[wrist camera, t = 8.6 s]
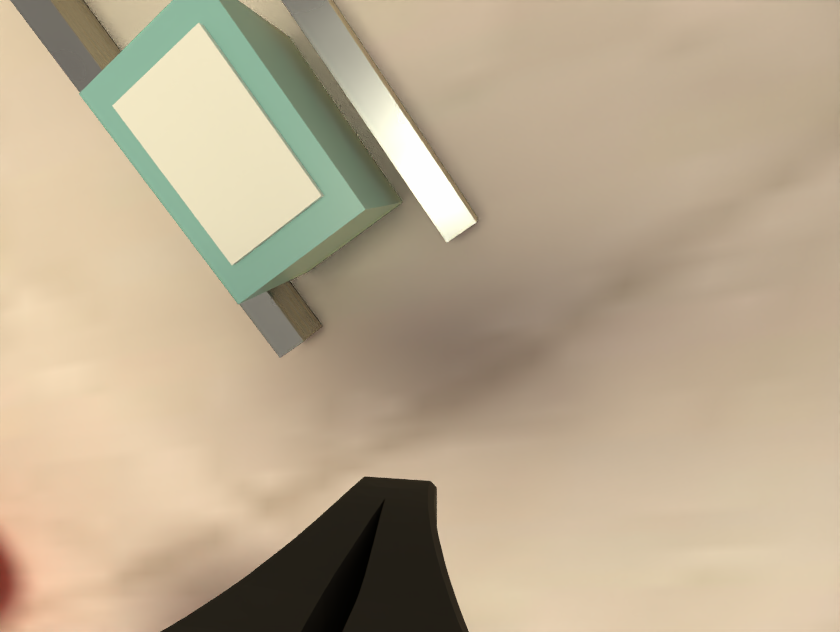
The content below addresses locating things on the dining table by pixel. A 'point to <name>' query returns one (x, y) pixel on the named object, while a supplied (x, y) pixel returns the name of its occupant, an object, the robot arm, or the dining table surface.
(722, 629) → the dining table surface
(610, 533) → the dining table surface
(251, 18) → the module
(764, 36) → the dining table surface
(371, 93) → the rail
